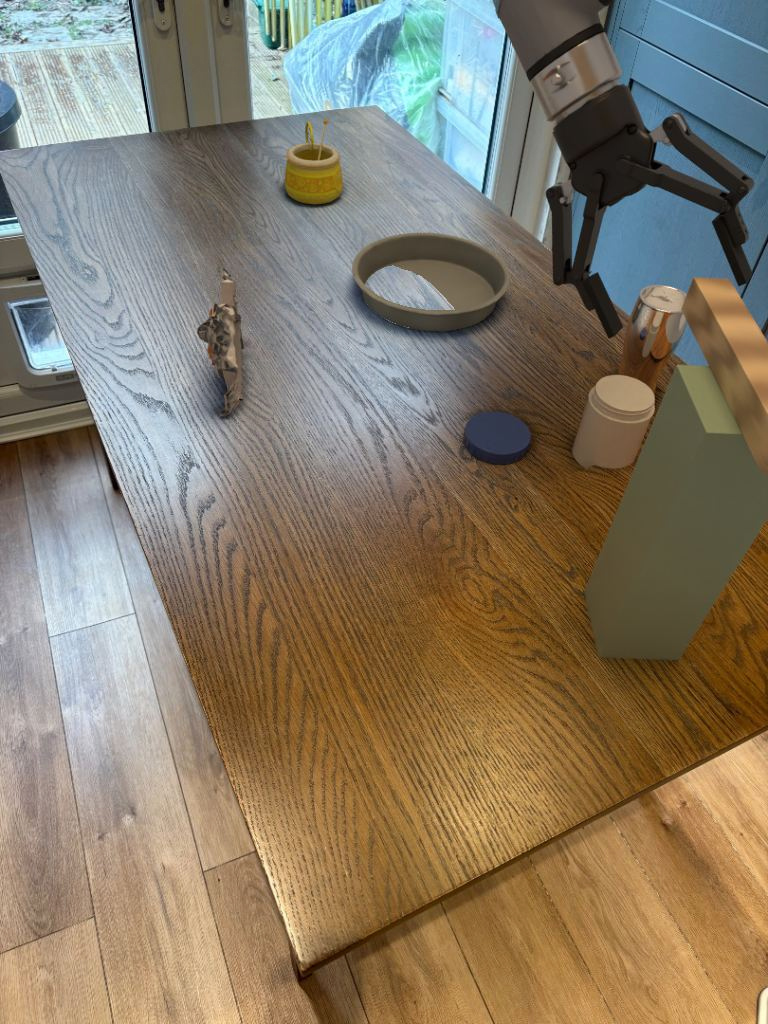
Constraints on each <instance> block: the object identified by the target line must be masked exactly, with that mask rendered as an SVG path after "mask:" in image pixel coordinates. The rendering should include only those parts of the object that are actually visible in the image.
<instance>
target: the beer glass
mask: <svg viewBox="0 0 768 1024" xmlns="http://www.w3.org/2000/svg"><path fill="white" fill-rule="evenodd" d="M686 296H687V292H685V291H683V290H681V289H679V288H677V287H675V286H670V285H666V284H665V285H664V284H649V285H647V286H645V287H643V288H642V289H641V290H640V291H639V294H638V297H637V299H636V301H635V304H634V306H633V308H632V311H631V313H630V316H629V319H628V322H627V325H626V329H625V333H624V338H623V345H622V354H621V360H620V365H619V369H618V371H617V373H616V375H623V376H628V377H632V378H635V379H637V380H639V381H641V382H643V383H645V384H646V385H647V386H648V387H649V388H650V389H651V390H652V392H653V394H654V396H655V394H656V390H657V389H656V388H657V384H658V380H659V379H660V376H661V375H662V373H663V371H664V370H665V367H667V364H669V361H670V360H671V358H672V357H673V355H674V353H675V352H676V350H677V349H678V347H679V344H680V342H681V340H682V338H683V336H684V333H685V330H686V327H687V325H688V322H687V320H686V318H685V316H684V314H683V312H682V310H681V309H682V306H683V303H684V301H685V298H686Z"/></svg>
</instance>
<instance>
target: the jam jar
mask: <svg viewBox="0 0 768 1024" xmlns="http://www.w3.org/2000/svg"><path fill="white" fill-rule="evenodd" d="M655 397H656V396H655V395H654V394H653V392H652V390H651V389H650V388H649V387H648V386H647V385H646V384H645V383H643V382H641V381H639V380H637V379H635V378H632V377H628V376H623V375H617V374H611V375H605V376H603V377H601V378H600V379H599V380H598V381H597V382H596V384H595V386H594V387H592V388H591V389H590V391H589V393H588V396H587V399H586V402H585V405H584V409H583V412H582V415H581V418H580V421H579V424H578V428H577V431H576V434H575V437H574V440H573V443H572V447H571V452H572V457H573V458H574V460H575V462H577V463H578V464H579V466H581V467H582V468H583V469H589V468H591V467H593V466H596V467H600V468H605V469H622V468H626V467H628V466H631V464H633V463H634V461H635V460H636V458H637V456H638V453H639V450H640V448H641V445H642V443H643V441H644V438H645V436H646V433H647V431H648V429H649V426H650V425H651V424H650V423H651V421H652V418H653V416H654V413H655V409H656V408H655V403H656V398H655Z"/></svg>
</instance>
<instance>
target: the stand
mask: <svg viewBox="0 0 768 1024" xmlns="http://www.w3.org/2000/svg"><path fill="white" fill-rule="evenodd" d="M767 521H768V474H762V473H761V471H760V469H759V467H758V465H757V463H756V461H755V459H754V457H753V455H752V453H751V451H750V449H749V447H748V445H747V443H746V441H745V439H744V437H743V434H742V432H741V430H740V428H739V426H738V424H737V422H736V420H735V418H734V416H733V414H732V412H731V410H730V408H729V406H728V404H727V402H726V400H725V398H724V396H723V394H722V392H721V390H720V388H719V386H718V383H717V381H716V379H715V377H714V375H713V373H712V371H711V369H710V367H709V365H692V364H691V365H690V364H676V365H675V368H674V370H673V373H672V375H671V378H670V379H669V383H668V384H667V387H666V390H665V392H664V395H663V398H662V399H661V403H660V405H659V406H658V410H657V412H656V415H655V417H654V419H653V421H652V424H651V426H650V429H649V431H648V434H647V436H646V439H645V441H644V444H643V446H642V449H641V450H640V453H639V456H638V458H637V460H636V463H635V466H634V468H633V470H632V473H631V475H630V478H629V480H628V483H627V485H626V488H625V490H624V493H623V495H622V498H621V500H620V502H619V505H618V507H617V509H616V512H615V515H614V517H613V520H612V523H611V525H610V527H609V530H608V532H607V534H606V537H605V539H604V542H603V545H602V547H601V549H600V551H599V554H598V555H597V556H598V557H597V559H596V561H595V563H594V566H593V569H592V571H591V574H590V576H589V578H588V580H587V583H586V585H585V588H584V591H583V595H584V599H585V603H586V608H587V613H588V617H589V623H590V627H591V631H592V635H593V640H594V644H595V649H596V653H597V657H598V658H606V659H608V658H609V659H636V660H641V659H642V660H662V661H663V660H664V661H679V660H680V659H681V658H682V656H683V654H684V653H685V651H686V649H687V648H688V646H689V645H690V643H691V642H692V640H693V638H694V636H696V634H697V632H698V631H699V629H700V627H701V626H702V624H703V622H704V621H705V619H706V618H707V616H708V614H709V613H710V611H711V610H712V609H713V607H714V605H715V603H716V602H717V600H718V599H719V597H720V595H721V594H722V593H723V591H724V590H725V587H726V586H727V585H728V583H729V581H730V579H731V578H732V577H733V575H734V573H735V571H736V570H737V568H738V567H739V565H740V564H741V562H742V561H743V559H744V557H745V555H746V554H747V552H748V551H749V550H750V548H751V546H752V545H753V543H754V541H755V540H756V538H757V537H758V535H759V534H760V532H761V530H762V529H763V527H764V525H765V524H766V522H767Z"/></svg>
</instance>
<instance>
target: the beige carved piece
mask: <svg viewBox="0 0 768 1024" xmlns="http://www.w3.org/2000/svg"><path fill="white" fill-rule="evenodd" d="M216 267H217V268H216V269H217V272H218V274H219V276H220V277H221V278H222V279H223V280H222V281H220V304H217V303H216V302H214V303H213V305H212V307H211V308H210V310H209V314H208V318H207V319H206V320H205V321H204V322H202V323H201V324H200V325H199V326H198V327H197V329H196V330H197V331H196V334H197V336H198V338H199V340H201V341H203V342H204V343H206V344H208V345H207V348H206V351H207V354H208V357H209V359H210V360H211V366H213V367H214V366H215V370H216V374H217V377H218V379H221V378H222V377H223V379H224V381H225V385H226V390H227V391H226V393H225V394H223V398H224V406H225V407H224V408H223V409H221V411H220V413H219V418H221V419H223V418H225V417H226V416H228V415H231V413H232V411H234V410H235V409H236V408H237V407H238V406H239V405H240V404H241V400H239V399H243V400H244V396H243V397H242V394H241V392H242V393H243V385H242V383H243V372H242V366H243V363H242V354H243V353H242V350H244V339H243V332H242V326H241V325H242V322H243V321H242V316H241V315H240V314H239V313H238V309H239V307H238V304H239V301H238V299H237V298H236V296H237V294H236V293H237V290H236V287H237V284H236V283H237V282H235V281H234V279H233V278H232V274H231V273H230V272H228V271H227V270H226V269H225V268H224V267H220V266H216ZM227 273H228V274H227ZM238 400H239V401H238ZM228 413H229V414H228Z"/></svg>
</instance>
